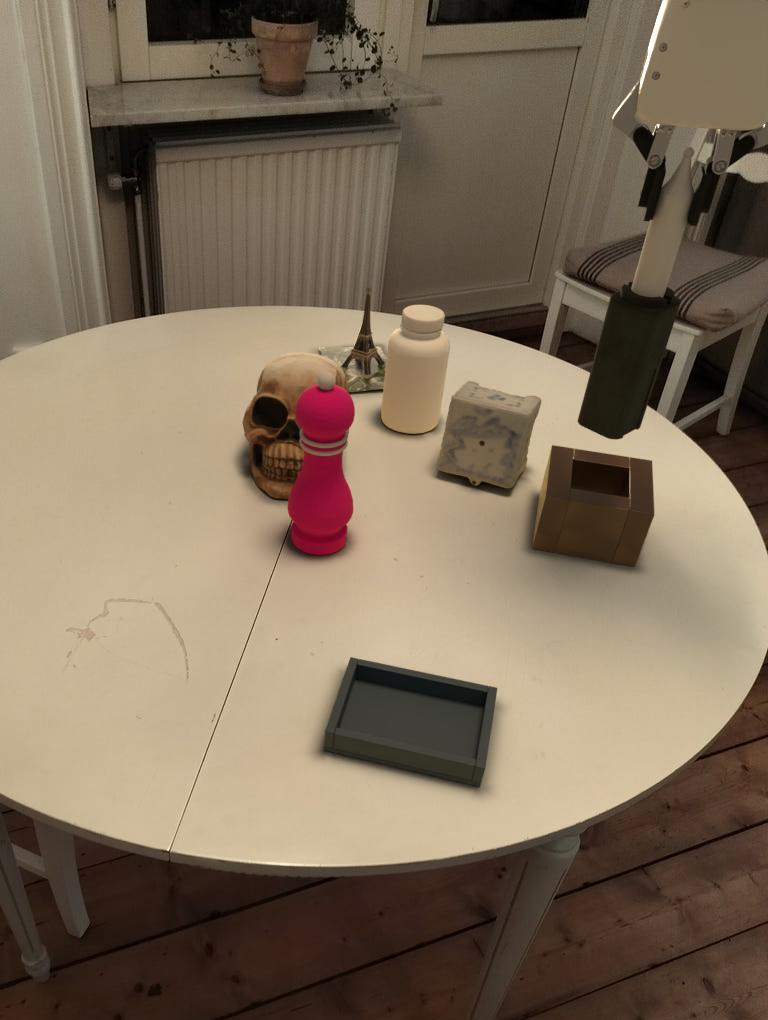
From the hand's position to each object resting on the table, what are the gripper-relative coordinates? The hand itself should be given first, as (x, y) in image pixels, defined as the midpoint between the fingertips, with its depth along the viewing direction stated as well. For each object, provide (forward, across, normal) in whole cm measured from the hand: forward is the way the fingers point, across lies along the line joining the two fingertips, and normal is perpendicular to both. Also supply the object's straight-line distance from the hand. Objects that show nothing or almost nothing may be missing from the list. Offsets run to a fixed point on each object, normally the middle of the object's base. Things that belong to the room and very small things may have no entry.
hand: (669, 216), depth 73 cm
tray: (+35, +12, +32) cm, 49 cm away
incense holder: (+35, +12, -13) cm, 39 cm away
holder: (+35, -1, -4) cm, 35 cm away
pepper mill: (+35, +28, +7) cm, 45 cm away
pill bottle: (+35, +23, -23) cm, 48 cm away
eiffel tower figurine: (+35, +33, -36) cm, 60 cm away
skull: (+35, +35, -8) cm, 50 cm away
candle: (+20, 0, 0) cm, 20 cm away
